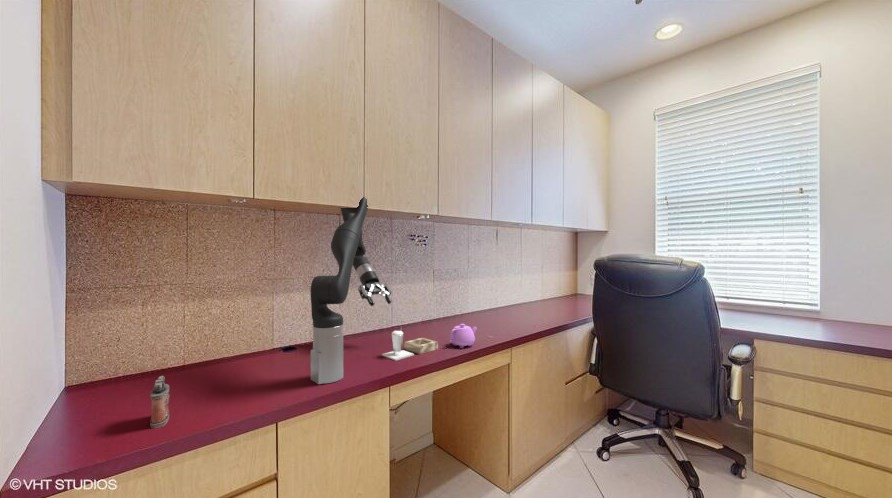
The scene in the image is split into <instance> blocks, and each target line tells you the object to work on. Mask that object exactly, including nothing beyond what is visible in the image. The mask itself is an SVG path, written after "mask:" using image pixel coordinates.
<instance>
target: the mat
mask: <svg viewBox="0 0 892 498" xmlns="http://www.w3.org/2000/svg"><path fill="white" fill-rule="evenodd" d="M381 356H382V357H384V358H387V359H390V360H392V361H395V362H396V361H400V360H403V359H406V358H410V357H413V356H415V353H414V352H411V351H408V350H405V349H402V354H401V355H394V352H393V350H392V351H389V352H385V353H381Z"/></svg>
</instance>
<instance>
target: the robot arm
mask: <svg viewBox="0 0 892 498" xmlns="http://www.w3.org/2000/svg"><path fill="white" fill-rule="evenodd" d="M367 207H368V205H367V199H366V198H365V197H363V198H362V199H361V200H360V202H359V206H358V207H357V208H341V207H340V211H341V217H342V220H343V223H341V224H340V225H339V226H338V227H336V229H335V231H334V233H333V236H332V238H331V239H332V240H331V242H330V250H331V253H332V254H333V255H332V256H334V258H335V260H336V262H337V264H338V272H337V274H336V275H317V276H315V277H314V278H313V279H312V280H311V284H310V304H311V305H310V306H311V307H310V308H311V310H310V311H311V320H312V349H310V380H311V381H312V382H314V383H315V384H317V385H321V384H331V383H332V384H333V383H335V382H339V381H340V380H342V379H344V316H343V315H342V314H340V313H338V312H335V311H334V310H332V309H330V308H329V306H328V305H341V304H343V303H344V302H345V301H346V300H347V297H348V293H349V288H350V283H351V275H352V270H353V268H354V270H355V272H356V274H357V277H358V279H359V281H360V283H361V284H360V285H359V286H358V288H357V290H358V293H359V296H360V298H361V299H362V300H364V299H365V300H367V302H368V304H369V305H370V306H371V307H374V305H375V303H376V302H375V300H374V299H373V297H372V296H374V295H379V296H382V297H384V299H385V301H386V303H387V304H388V305H390V304H391V303H392V297H391V295H392V293H393V292H392V289H391V288H390V287H389V285H388V283H387V282H384V284H382V283H380V278H379V277H378V275H377V273H376V271H375V270H374V268H373V266H372V265H371V264H370V262H369V260H368V258H367V257H366V256H365V254H366V252H367V250H366V246H365V245H364V242H363V228H362V227H363V225H364V221H365V218H366V215H367V213H368V210H369V207H368V208H367ZM353 214H354V215H353ZM371 295H372V296H371Z"/></svg>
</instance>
